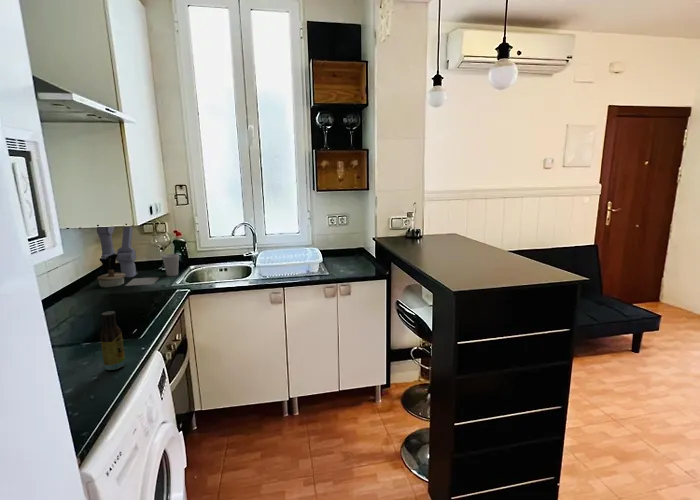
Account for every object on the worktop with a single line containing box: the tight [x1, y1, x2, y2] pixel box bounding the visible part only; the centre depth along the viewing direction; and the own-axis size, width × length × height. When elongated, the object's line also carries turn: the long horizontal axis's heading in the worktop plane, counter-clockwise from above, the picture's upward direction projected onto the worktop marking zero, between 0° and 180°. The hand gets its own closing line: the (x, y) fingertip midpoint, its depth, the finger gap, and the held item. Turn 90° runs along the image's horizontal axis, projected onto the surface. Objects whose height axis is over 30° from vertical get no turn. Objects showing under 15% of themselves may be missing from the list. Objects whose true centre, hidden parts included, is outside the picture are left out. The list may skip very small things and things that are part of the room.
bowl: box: [98, 277, 125, 288], centre depth 225 cm, size 12×12×4 cm
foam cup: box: [161, 253, 180, 277], centre depth 243 cm, size 10×9×13 cm
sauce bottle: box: [99, 310, 126, 365], centre depth 130 cm, size 6×6×20 cm
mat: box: [124, 276, 160, 287], centre depth 230 cm, size 15×15×1 cm
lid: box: [96, 269, 126, 281], centre depth 224 cm, size 14×14×4 cm
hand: (110, 268), depth 223 cm, fingers open, 7 cm apart
